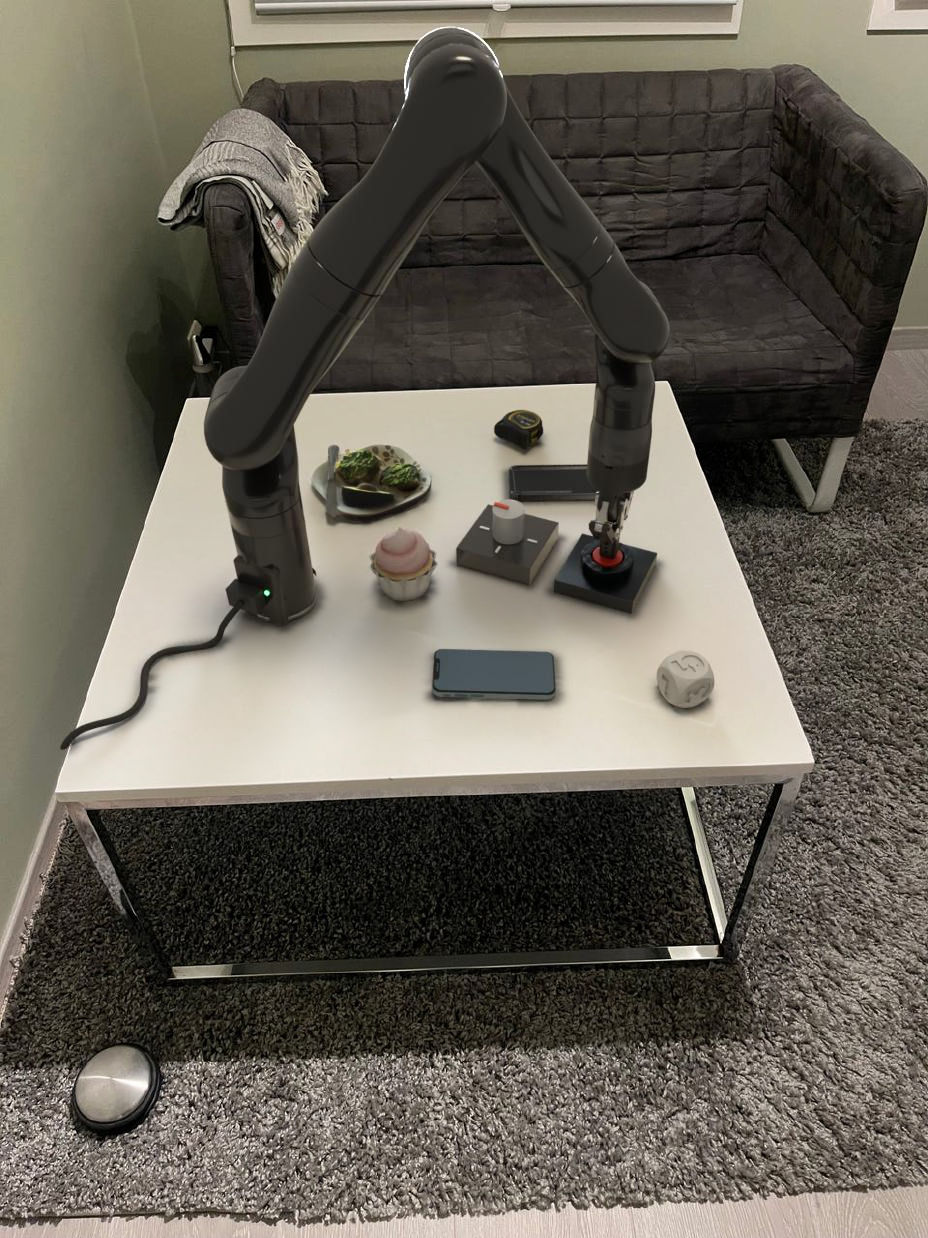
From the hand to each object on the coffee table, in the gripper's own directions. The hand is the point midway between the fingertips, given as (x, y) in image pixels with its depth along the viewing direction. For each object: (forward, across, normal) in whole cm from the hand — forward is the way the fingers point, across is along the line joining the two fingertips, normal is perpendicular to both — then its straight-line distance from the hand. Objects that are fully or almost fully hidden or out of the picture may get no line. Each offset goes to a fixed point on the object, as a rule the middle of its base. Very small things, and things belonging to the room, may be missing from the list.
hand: (608, 554), depth 136 cm
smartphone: (+4, +24, -7) cm, 25 cm away
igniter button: (+2, 0, 0) cm, 2 cm away
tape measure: (+4, -26, -24) cm, 36 cm away
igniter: (+4, 0, 0) cm, 4 cm away
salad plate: (+4, -6, -40) cm, 40 cm away
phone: (+4, -18, -14) cm, 23 cm away
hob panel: (+4, 0, -15) cm, 15 cm away
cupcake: (+4, +12, -25) cm, 28 cm away
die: (+4, +16, +15) cm, 23 cm away
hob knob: (+1, 0, -15) cm, 15 cm away
